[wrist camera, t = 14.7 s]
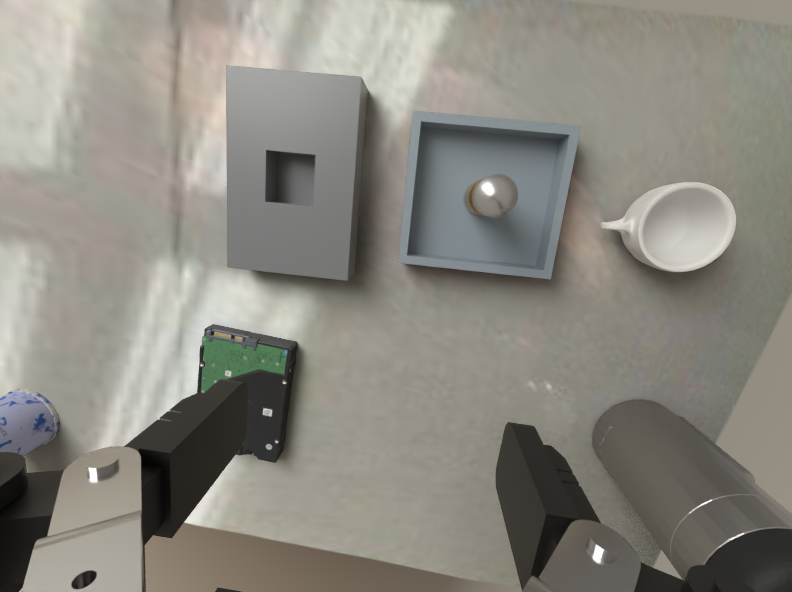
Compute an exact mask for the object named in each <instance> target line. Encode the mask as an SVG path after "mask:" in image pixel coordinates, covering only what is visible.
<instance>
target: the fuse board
mask: <svg viewBox="0 0 792 592" xmlns="http://www.w3.org/2000/svg"><path fill="white" fill-rule="evenodd" d="M367 98H368V89H367V87H366V85H365V83H364V81H363V79H362V77H357V76H345V75H334V74H322V73H310V72H299V71H287V70H275V69H264V68H252V67H240V66H229V65H226V119H227V267H229V268H237V269H246V270H255V271H264V272H273V273H282V274H291V275H300V276H309V277H318V278H327V279H336V280H345V281H348V280H349V279H350V278H351V277H352V276H353V275H354V274H355V261H356V248H357V234H358V220H359V207H360V193H361V180H362V166H363V152H364V139H365V125H366V111H367Z"/></svg>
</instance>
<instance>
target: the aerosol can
mask: <svg viewBox="0 0 792 592" xmlns="http://www.w3.org/2000/svg"><path fill="white" fill-rule="evenodd" d="M58 430H59V419H58V414H57V412H56V411H55V409H54V407H53V405H52V404H51V403H50V402H49V401H48V400H47V399H46V398H45V397H43V396H42V395H40V394H39V393H37V392H34V391H31V390H28V389H17V390H13V391H10V392H8V393H6V394H5V395H4V396H2V397H1V398H0V452H13V453H18V454H20V455H22V456H25V455H26V454H28V453H30V452H31V451H33V450H34V449H36V448H38V447H39V446H41V445H45V444H47V443H48V442H50V441H51V440H52V439H54V438H55V436H56V434H57V433H58Z"/></svg>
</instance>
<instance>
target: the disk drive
mask: <svg viewBox="0 0 792 592" xmlns="http://www.w3.org/2000/svg"><path fill="white" fill-rule="evenodd" d="M296 350H297V342H296V341H291V340H285V339H281V338H277V337H272V336H267V335H262V334H256V333H252V332H248V331H243V330H239V329H234V328H229V327H224V326H219V325H215V324H213V325H211V326H209V327H207V328H205V334H204V336H203V337H202V345H201V346H200V364H199V374H198V390H197V393H199V392H202V393H204V392H205V391H207V390H208V389H209V388H210V387H211V386H213V385H214V384H215V383H216V382H217V381H219V380H220V379H226V380H233V381H239V382H245V383H246V384H247V386H248V408H247V430H246V435H245V438H244V441H243V444H242V446H241V447H240V449H239V450H238V452H237V453H236V454H237V455H244V454H252V453H254V455H255V456H256V457H257V458H258V459H260V460H265V461H269V462H274V463H275V462H277V460H278V458H279V457H280V455H281V453H282V452H283V445H284V442H285V435H286V432H285V430H286V422H287V416H288V408H289V401H290V394H291V386H292V378H293V371H294V367H295V361H296Z"/></svg>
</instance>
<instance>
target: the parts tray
mask: <svg viewBox="0 0 792 592" xmlns="http://www.w3.org/2000/svg"><path fill="white" fill-rule="evenodd" d="M580 129H581V126H579V125H568V124H557V123H545V122H534V121H523V120H512V119H501V118H489V117H478V116H467V115H456V114H445V113H433V112H422V111H413V116H412V126H411V136H410V146H409V156H408V166H407V176H406V186H405V196H404V206H403V216H402V226H401V236H400V246H399V256H398V263H404V264H413V265H422V266H431V267H441V268H450V269H459V270H468V271H478V272H487V273H496V274H505V275H514V276H524V277H533V278H542V279H551V275H552V270H553V265H554V260H555V255H556V250H557V245H558V240H559V235H560V230H561V225H562V220H563V215H564V210H565V205H566V200H567V194H568V189H569V184H570V179H571V174H572V169H573V164H574V159H575V154H576V149H577V144H578V139H579V134H580ZM493 174H503V175H506V176H508V177H509V178H511V179H512V180H513V181H514V183H515V184H516V186H517V189H518V200H517V203H516V205H515V207H514V208H513V209H512V211H511V212H509V213H508V214H507V215H505V216H502V217H498V218H493V217H487V216H481V215H476V214H473V213H471V212H469V211H468V210H467V209H466V207H465V205H464V201H463V196H464V193H465V190H466V189H467V188H468V186H470V185H471V184H472V183H474V182H477V181H479V180H481V179H483V178H485V177H487V176H490V175H493Z"/></svg>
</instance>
